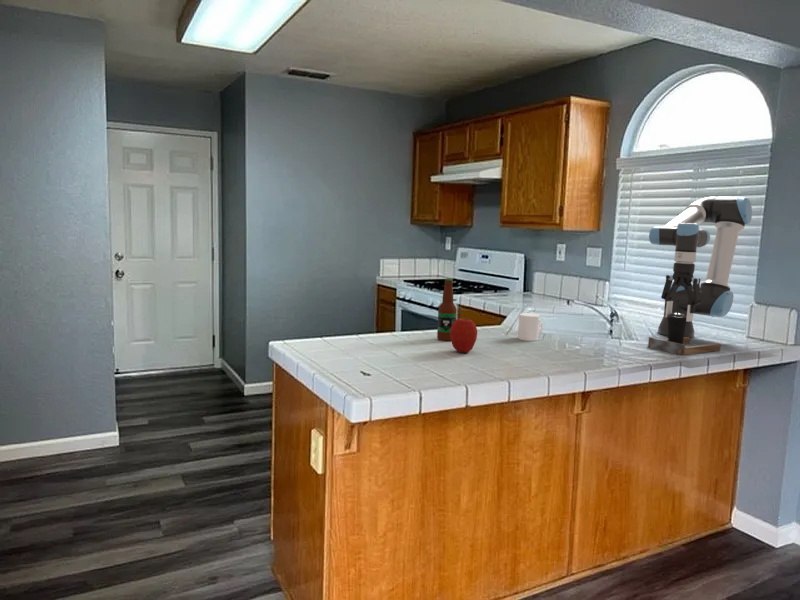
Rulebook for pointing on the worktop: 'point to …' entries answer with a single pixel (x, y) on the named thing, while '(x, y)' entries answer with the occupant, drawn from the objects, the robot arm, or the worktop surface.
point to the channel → (680, 346)
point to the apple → (463, 334)
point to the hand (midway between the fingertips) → (678, 319)
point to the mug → (529, 327)
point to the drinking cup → (676, 326)
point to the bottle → (446, 312)
